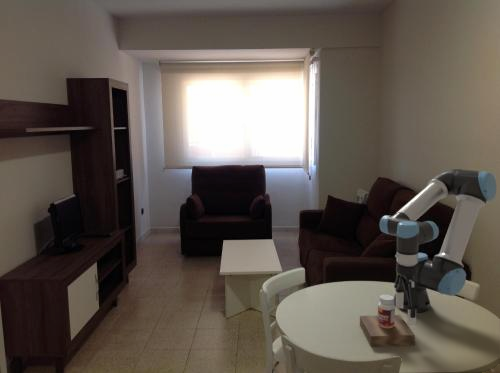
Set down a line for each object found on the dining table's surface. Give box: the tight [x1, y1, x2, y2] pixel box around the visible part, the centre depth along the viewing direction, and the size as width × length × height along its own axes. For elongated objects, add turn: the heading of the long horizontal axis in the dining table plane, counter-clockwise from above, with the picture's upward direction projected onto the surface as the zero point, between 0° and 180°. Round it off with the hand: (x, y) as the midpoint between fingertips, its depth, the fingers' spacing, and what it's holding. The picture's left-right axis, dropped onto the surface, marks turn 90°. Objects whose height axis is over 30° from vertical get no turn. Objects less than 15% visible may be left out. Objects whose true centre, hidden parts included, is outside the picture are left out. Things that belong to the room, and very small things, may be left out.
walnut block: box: [359, 314, 416, 347], centre depth 168 cm, size 16×16×4 cm
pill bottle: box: [377, 294, 396, 328], centre depth 167 cm, size 6×6×11 cm
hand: (405, 316), depth 167 cm, fingers open, 13 cm apart
